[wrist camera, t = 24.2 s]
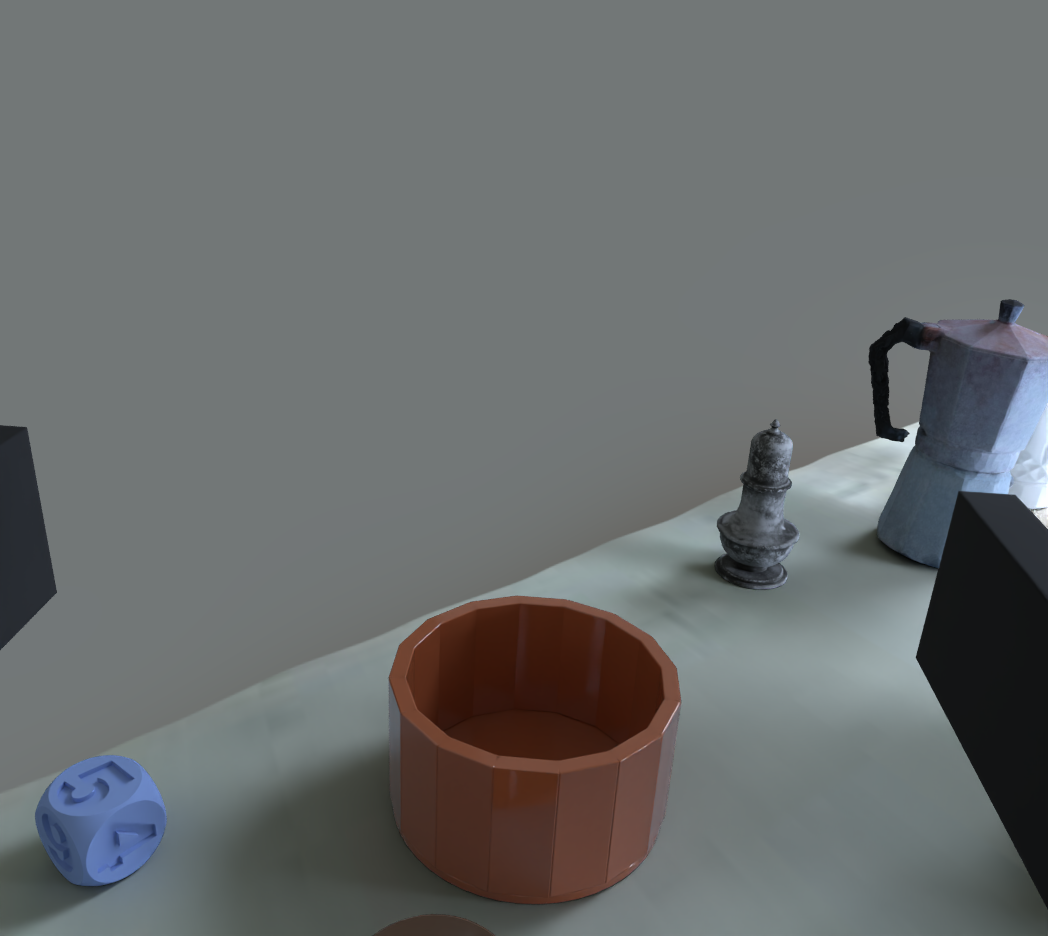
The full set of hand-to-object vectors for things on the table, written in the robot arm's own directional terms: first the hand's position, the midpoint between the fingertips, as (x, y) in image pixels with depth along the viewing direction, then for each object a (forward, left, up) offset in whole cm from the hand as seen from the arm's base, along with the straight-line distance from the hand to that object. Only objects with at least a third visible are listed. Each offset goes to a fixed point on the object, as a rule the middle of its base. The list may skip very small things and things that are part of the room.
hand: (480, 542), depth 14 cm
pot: (0, -26, -28) cm, 38 cm away
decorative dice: (+18, -20, -28) cm, 39 cm away
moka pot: (-30, -57, -28) cm, 70 cm away
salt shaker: (-15, -51, -28) cm, 60 cm away
